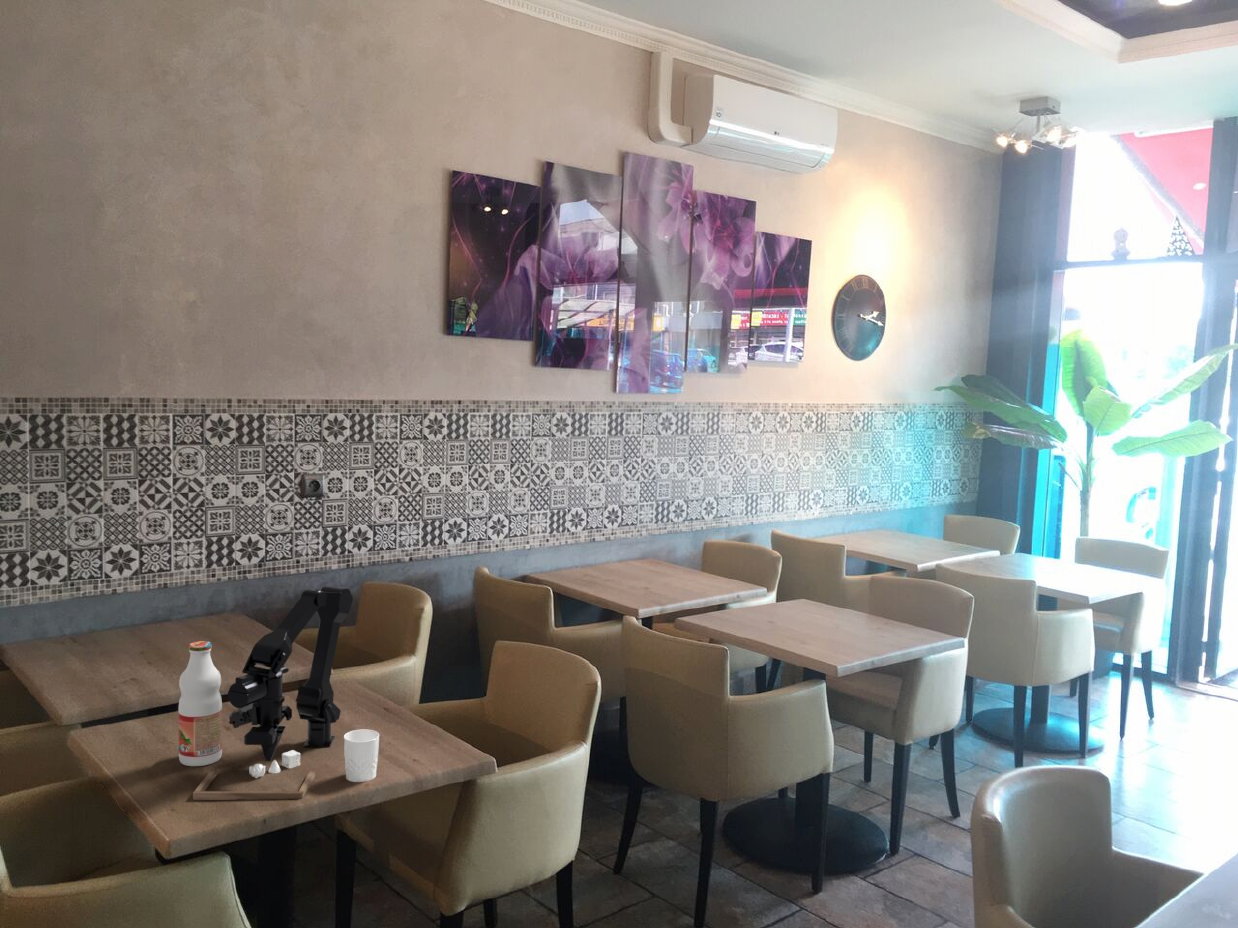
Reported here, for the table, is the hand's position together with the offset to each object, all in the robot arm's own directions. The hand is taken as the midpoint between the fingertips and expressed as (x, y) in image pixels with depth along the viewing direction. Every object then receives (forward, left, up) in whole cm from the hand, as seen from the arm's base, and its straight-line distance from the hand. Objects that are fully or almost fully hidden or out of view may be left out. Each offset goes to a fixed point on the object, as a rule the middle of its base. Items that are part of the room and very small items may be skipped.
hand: (268, 760), depth 234 cm
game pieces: (+2, +2, -2) cm, 3 cm away
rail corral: (+10, 0, -2) cm, 11 cm away
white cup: (+5, +22, -2) cm, 23 cm away
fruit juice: (-5, -17, -2) cm, 18 cm away
